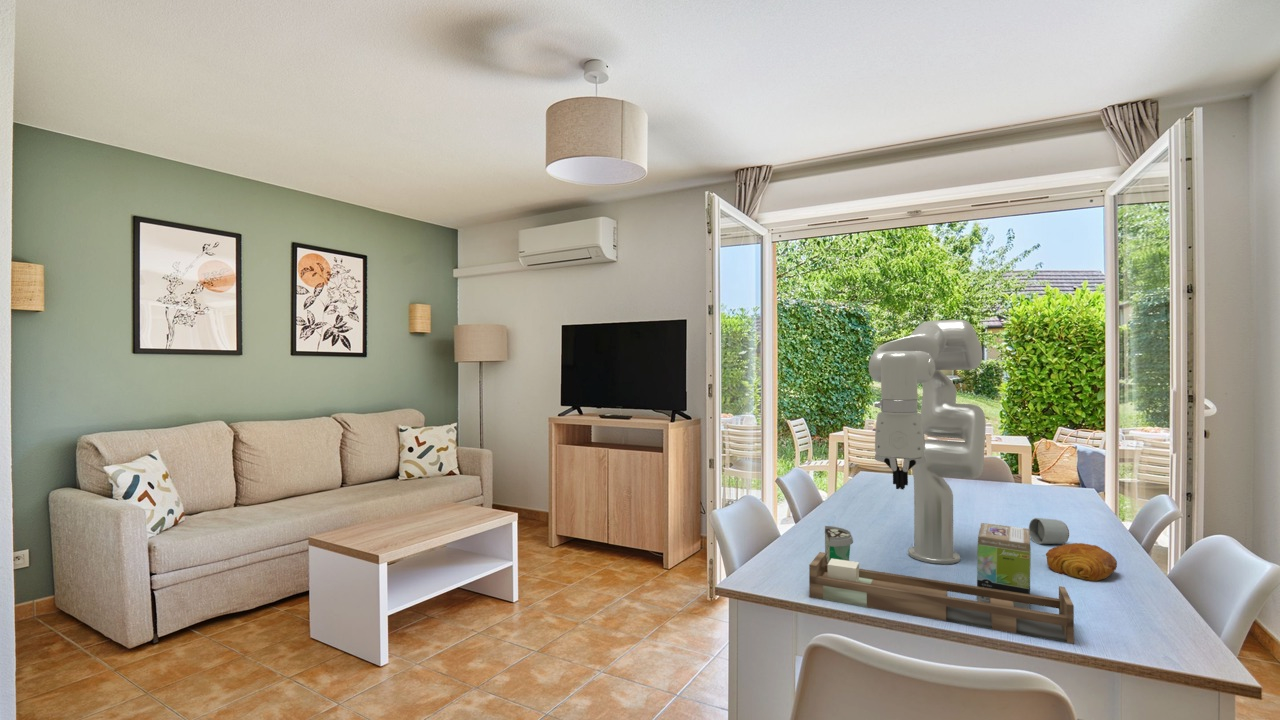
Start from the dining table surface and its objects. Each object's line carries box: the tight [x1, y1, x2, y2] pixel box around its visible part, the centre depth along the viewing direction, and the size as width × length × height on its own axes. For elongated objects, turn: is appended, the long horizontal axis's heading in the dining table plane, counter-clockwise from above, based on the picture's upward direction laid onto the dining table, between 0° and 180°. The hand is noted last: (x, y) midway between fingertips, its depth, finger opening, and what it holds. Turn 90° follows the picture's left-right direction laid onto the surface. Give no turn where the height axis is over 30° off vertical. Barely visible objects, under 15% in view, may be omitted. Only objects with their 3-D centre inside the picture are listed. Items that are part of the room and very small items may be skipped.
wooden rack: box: [808, 551, 1075, 645], centre depth 127 cm, size 11×48×7 cm, turn 62°
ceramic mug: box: [1028, 517, 1070, 545], centre depth 179 cm, size 10×8×7 cm
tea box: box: [976, 522, 1032, 610], centre depth 134 cm, size 15×10×15 cm
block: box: [828, 558, 860, 582], centre depth 135 cm, size 5×6×4 cm
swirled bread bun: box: [1045, 542, 1118, 582], centre depth 152 cm, size 14×16×8 cm
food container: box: [824, 525, 854, 564], centre depth 150 cm, size 12×6×10 cm, turn 168°
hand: (900, 487), depth 137 cm, fingers closed
